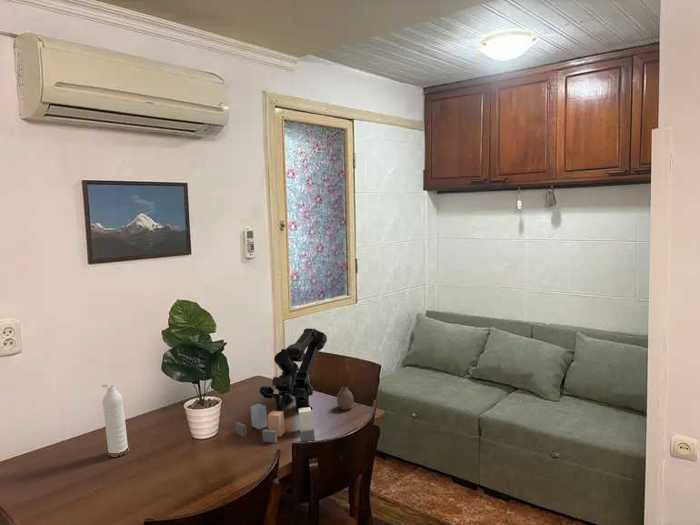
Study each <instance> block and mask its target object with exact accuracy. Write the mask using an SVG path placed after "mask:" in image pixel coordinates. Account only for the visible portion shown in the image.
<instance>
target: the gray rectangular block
mask: <svg viewBox="0 0 700 525" xmlns="http://www.w3.org/2000/svg"><path fill="white" fill-rule="evenodd" d="M250 418H251V427H252V428H255V429H257V430H262V429H265V428H266V427H268V413H267V406H266V405H265V404H261V403H256V404H253V405H251V406H250Z"/></svg>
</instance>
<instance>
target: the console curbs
mask: <svg viewBox="0 0 700 525" xmlns="http://www.w3.org/2000/svg"><path fill="white" fill-rule="evenodd" d="M234 426H235V434H236V435H238V436H240V437H243V438H245V437H247V436H248V429H247V425H246V424H244V423H242V422H239V421H237V422H235V423H234ZM261 432H262V435H261V436H262V442H263V443H274V444H276V443H277V442H278V436H277V430H269V429H265V428H263V429H262V431H261ZM299 437H300V442H301V441H309V442H312V441H311V440H315V438H316V437H315V428H314V427H312V429H305V430H300V429H299ZM315 441H316V440H315Z"/></svg>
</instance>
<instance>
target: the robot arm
mask: <svg viewBox="0 0 700 525" xmlns="http://www.w3.org/2000/svg"><path fill="white" fill-rule="evenodd" d="M327 337H328V336H327V335H326V333H324V332H323V331H320V330H317V329H316V328H312V327H311V328H304V329H303V333H301V334H300V336H299V338H298V339H297V341H296V342H295V343H293V344H290V345H288V346H286V348H282V349H281V350H280V351H279V352H277V353H276V354H275V356H274V358H273V359H274V360H273V361H274V363H275V364H276V365H277V367H278V368H279V369H280V371H281V372H282V373H281V374H280V375H279V376H273V377H272V382H271V383H272V384H271V386H273V387H274V388H275V389H273V387H271V386H270V385H269V386H268V385H262V386H260V387H259V390H258V393H259V394H260V395H261V396H262V397H263V399H267V400H268V399H269V400H270V399H271V400H272V399H273V398H274V399H275V406H276V411H283V412H284V411H285V410H286V409H287V407H288V406H289V405H290V404H291V403H294V402H295V403H294V404H295V405H293V406H292V408H293V409H294V410H295V411H296V412H297V413H299V410H298V408H307V407H310V408H311V410H312V409H313V407H312V406H311V405H310V396H313V393H314V387H313V385H312V384H311V381H310V374H311V371H312V369H313V366H314V364H315V360H316V358H317V355H318V353H319V352H320V351H321V350H322V349H323V348H324V347H325V344H327V341H328V338H327ZM296 362H297V363H296ZM298 363H300V366H299V365H298Z"/></svg>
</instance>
